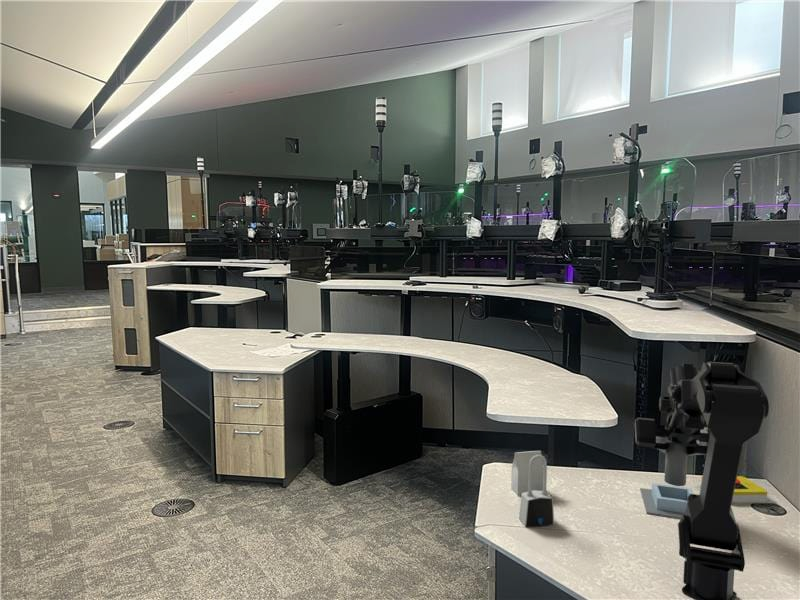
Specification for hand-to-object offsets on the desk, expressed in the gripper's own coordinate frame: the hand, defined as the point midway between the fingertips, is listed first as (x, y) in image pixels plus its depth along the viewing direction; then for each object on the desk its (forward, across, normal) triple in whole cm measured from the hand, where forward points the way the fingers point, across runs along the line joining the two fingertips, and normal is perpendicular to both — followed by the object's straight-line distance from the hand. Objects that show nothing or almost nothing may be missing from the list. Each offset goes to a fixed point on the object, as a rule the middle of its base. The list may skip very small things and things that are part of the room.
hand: (675, 452), depth 121 cm
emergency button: (+16, -15, +2) cm, 22 cm away
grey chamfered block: (+5, +33, +12) cm, 36 cm away
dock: (+8, 0, +10) cm, 12 cm away
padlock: (-5, +30, +23) cm, 38 cm away
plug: (+4, 0, +6) cm, 7 cm away
